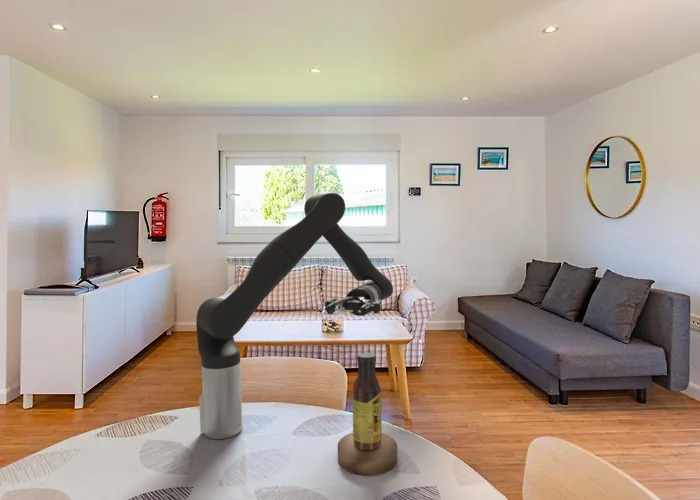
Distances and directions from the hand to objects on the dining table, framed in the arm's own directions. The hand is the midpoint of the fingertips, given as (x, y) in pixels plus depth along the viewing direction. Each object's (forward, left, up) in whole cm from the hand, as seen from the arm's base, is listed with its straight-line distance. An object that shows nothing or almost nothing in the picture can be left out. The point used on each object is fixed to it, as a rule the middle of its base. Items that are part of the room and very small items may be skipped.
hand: (345, 310), depth 105 cm
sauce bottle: (+8, -11, -27) cm, 30 cm away
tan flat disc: (+8, -11, -30) cm, 33 cm away
